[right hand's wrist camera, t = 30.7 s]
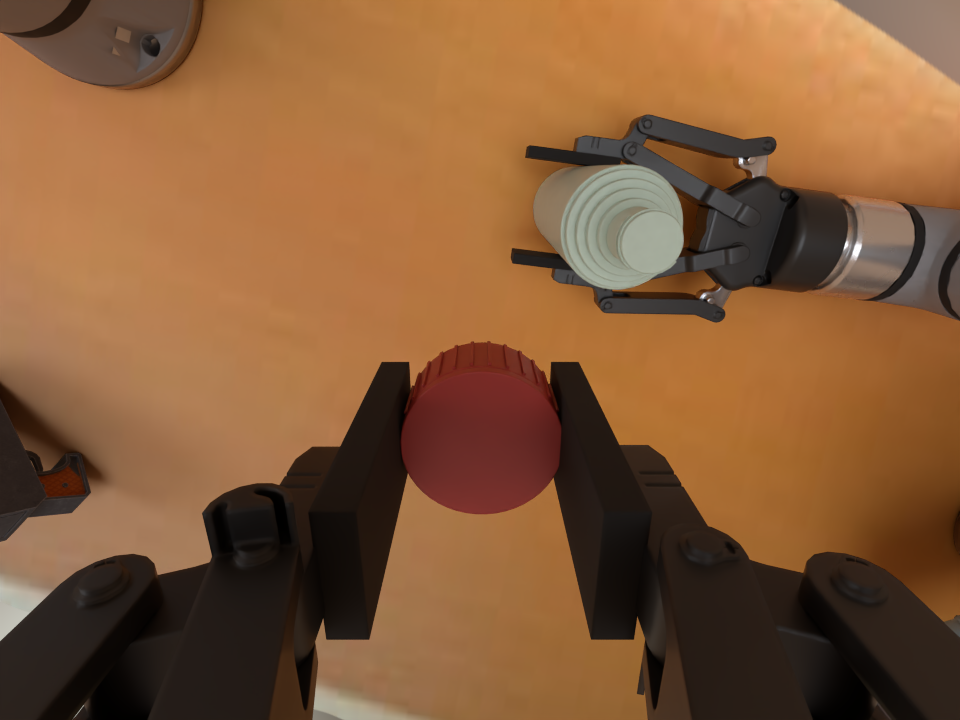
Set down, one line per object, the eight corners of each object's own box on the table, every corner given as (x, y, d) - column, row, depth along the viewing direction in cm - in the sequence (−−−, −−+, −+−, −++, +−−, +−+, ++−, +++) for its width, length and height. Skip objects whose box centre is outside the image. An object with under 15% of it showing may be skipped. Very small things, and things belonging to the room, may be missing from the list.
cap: (576, 438, 15) (591, 480, 13) (449, 490, 16) (445, 538, 14) (518, 314, 14) (524, 340, 12) (382, 377, 14) (366, 412, 12)
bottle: (516, 210, 45) (546, 247, 23) (573, 148, 43) (661, 127, 22) (570, 263, 46) (645, 343, 25) (627, 205, 45) (760, 239, 23)
